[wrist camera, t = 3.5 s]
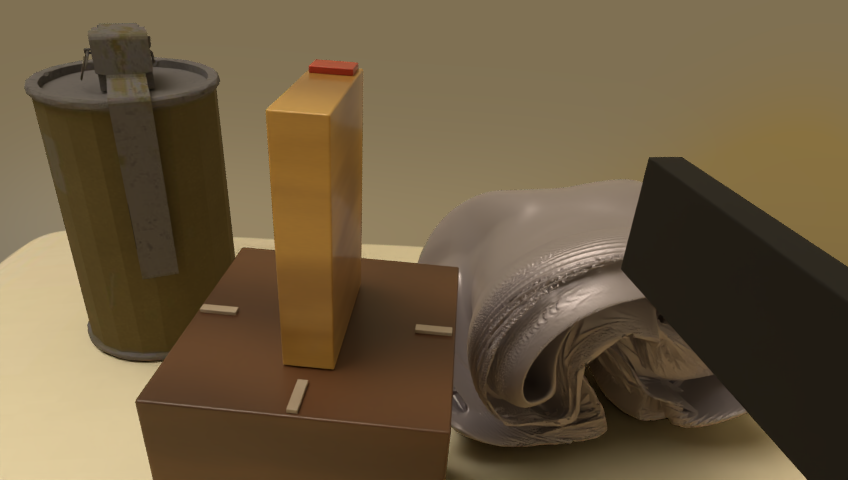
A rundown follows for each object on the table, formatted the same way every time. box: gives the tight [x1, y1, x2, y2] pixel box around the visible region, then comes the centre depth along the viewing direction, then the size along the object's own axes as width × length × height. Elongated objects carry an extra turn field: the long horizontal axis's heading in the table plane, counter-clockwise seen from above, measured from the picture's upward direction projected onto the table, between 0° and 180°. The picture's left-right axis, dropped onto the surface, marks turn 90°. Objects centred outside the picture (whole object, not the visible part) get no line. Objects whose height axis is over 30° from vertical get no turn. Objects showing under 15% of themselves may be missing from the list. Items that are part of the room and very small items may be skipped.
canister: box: [25, 23, 235, 361], centre depth 39 cm, size 11×10×20 cm
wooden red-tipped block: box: [266, 59, 363, 369], centre depth 21 cm, size 6×2×9 cm, turn 175°
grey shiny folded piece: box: [418, 179, 748, 448], centre depth 36 cm, size 20×18×15 cm
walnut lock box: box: [135, 248, 459, 480], centre depth 26 cm, size 10×10×13 cm
